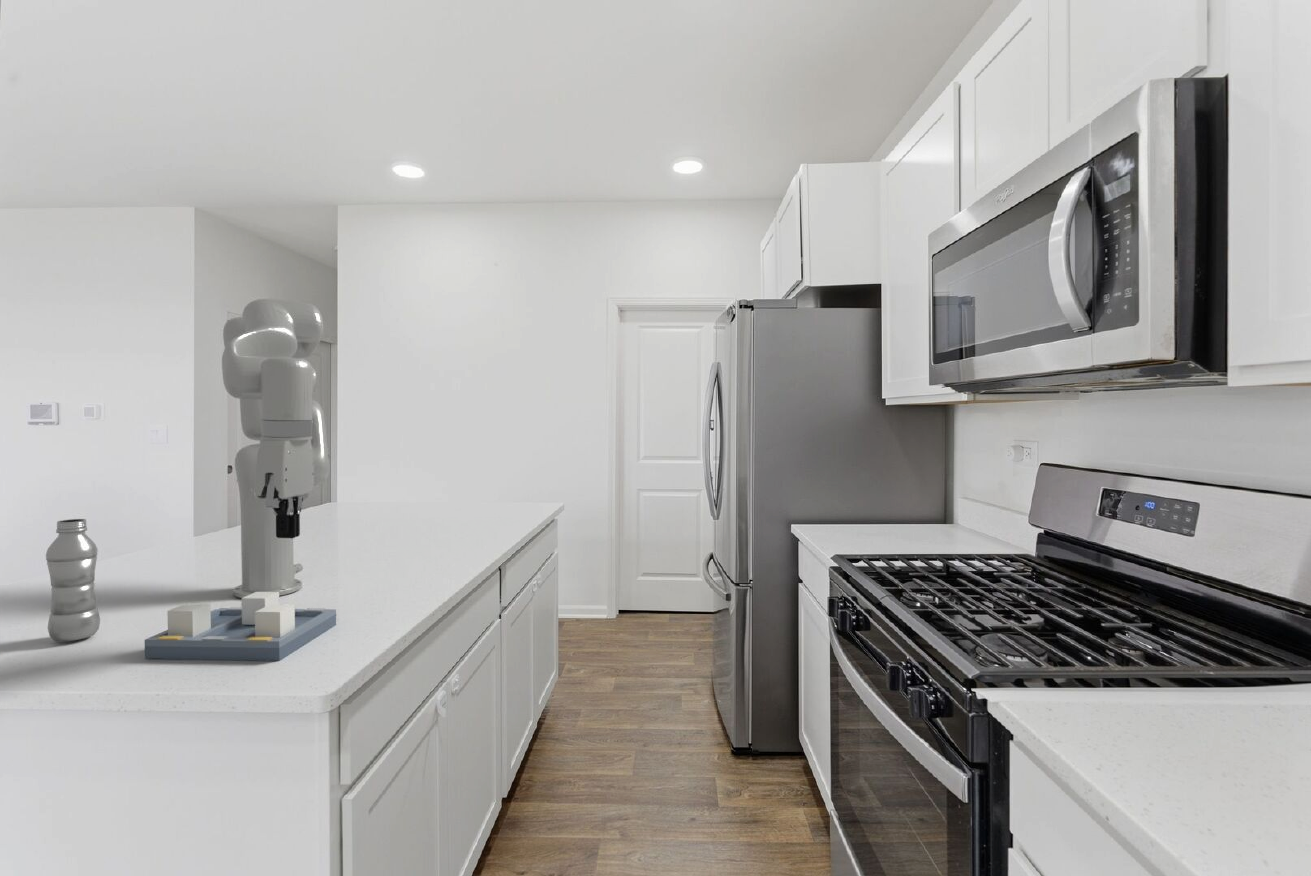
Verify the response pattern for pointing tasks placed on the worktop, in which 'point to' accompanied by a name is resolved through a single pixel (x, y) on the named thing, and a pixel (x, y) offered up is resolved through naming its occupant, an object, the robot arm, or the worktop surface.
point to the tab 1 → (189, 620)
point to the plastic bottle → (72, 583)
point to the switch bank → (240, 638)
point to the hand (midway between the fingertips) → (287, 536)
